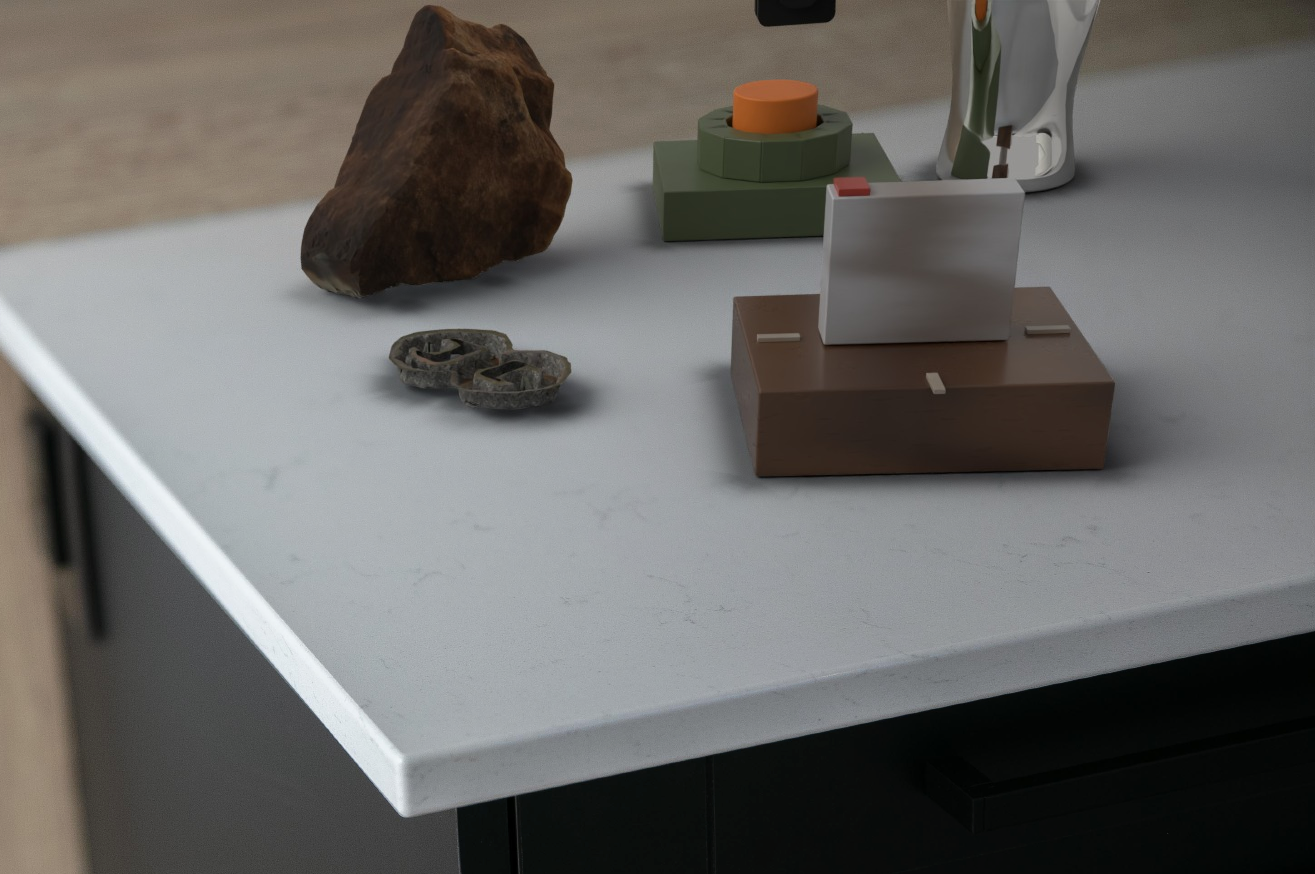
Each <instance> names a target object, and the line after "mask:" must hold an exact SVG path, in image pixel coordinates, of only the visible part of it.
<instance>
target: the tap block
mask: <svg viewBox="0 0 1315 874" xmlns="http://www.w3.org/2000/svg"><path fill="white" fill-rule="evenodd" d="M819 306H820V293H804V294H803V293H801V294H771V295H769V294H767V295H743V296H742V295H740V296H733V298H732V323H731V324H732V325H731V326H732V327H731V328H732V329H731V345H730V347H731V349H730V377H731V382H732V385H733V389H734V393H735V397H736V402H737V406H738V411H739V414H740V420H741V423H742V427H743V431H744V435H745V439H746V445H747V447H748V452H749V457H750V460H751V465H752V468H753V473H754V476H755V477H760V478H761V477H799V476H801V477H802V476H841V475H842V476H843V475H847V476H848V475H888V474H889V475H891V474H933V473H935V474H937V473H974V472H975V473H976V472H978V473H979V472H1015V471H1017V472H1019V471H1022V472H1023V471H1054V470H1055V471H1061V470H1062V471H1063V470H1064V471H1065V470H1066V471H1067V470H1068V471H1069V470H1102V469H1104V468H1105V461H1106V455H1107V448H1108V440H1109V433H1110V427H1111V426H1110V425H1111V420H1112V411H1113V404H1114V399H1115V398H1114V397H1115V390H1116V382H1115V379H1114V378H1113V377H1112V375H1111V373H1110V372H1109V371H1108V369H1107V368H1106V367H1105V365H1104V364H1103V362H1102V361H1101V359H1100V358H1099V356H1098V355H1097V353H1096V352H1095V349H1093V347H1092V346H1091V345H1090V343H1089V341H1087V339H1086V337H1085V336H1084V334H1083V333H1082V332H1081V330H1080V328H1079V327H1078V325H1077V324H1076V322H1075V321H1074V320H1073V318H1072V316H1071V315H1070V314H1069V313H1068V311H1067V310H1066V308H1065V306H1064V305H1063V304H1062V302H1061V301H1060V299H1059V298H1058V296H1057V295H1056V293H1055V291H1054V290H1053V289H1052V287H1051V286H1023V287H1022V286H1021V287H1017V286H1016V287H1015V289H1014V298H1013V307H1012V316H1011V325H1010V334H1009V339H1008V340H993V341H954V342H915V343H876V344H838V345H824V343H823V340H822V337H821V334H820V331H819V328H818V322H819Z"/></svg>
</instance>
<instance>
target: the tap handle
mask: <svg viewBox="0 0 1315 874" xmlns="http://www.w3.org/2000/svg"><path fill="white" fill-rule="evenodd" d="M1025 197H1026V192H1024V190H1023V189H1022V187H1021V186H1020V185H1019V183H1018V182H1017V180H1016V179H1015V178H997V179H968V180H942V179H940V180H916V181H915V180H914V181H901V182H882V183H868V182H867V180H866V178H865V177H847V178H834V184H828V185H827V189H826V206H825V222H824V236H823V241H822V242H823V243H822V258H821V272H820V273H821V275H820V291H819V294H820V306H819V322H818V328H819V331H820V334H821V337H822V340H823V343H824V345H838V344H876V343H915V342H954V341H993V340H1008V339H1009V334H1010V325H1011V316H1012V307H1013V298H1014V289H1015V288H1016V287H1015V286H1016V279H1017V272H1018V271H1017V269H1018V261H1019V253H1020V252H1019V251H1020V243H1021V235H1022V234H1021V233H1022V225H1023V215H1024V206H1025V199H1026V198H1025Z"/></svg>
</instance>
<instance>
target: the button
mask: <svg viewBox="0 0 1315 874" xmlns="http://www.w3.org/2000/svg"><path fill="white" fill-rule="evenodd" d="M818 102H819V89H818V87H817V86H816V85H814V84H812V83H810V82H806V81H801V80H794V79H761V80H755V81H750V82H746V83H743V84H740V85H738V86H736V87H735V88H734V89H733V101H732V106H733V126H732V128H734V129H737V130H740V131H743V132H751V133H761V134H779V133H795V132H800V131H805V130H810V129H814V128H816V123H817V106H818V105H819V103H818Z"/></svg>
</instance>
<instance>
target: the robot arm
mask: <svg viewBox="0 0 1315 874" xmlns="http://www.w3.org/2000/svg"><path fill="white" fill-rule="evenodd" d="M836 11H837V0H754V14H755V17H756V18H757V20H758V22H759V24H760V25H761V26H762V27H764V28H770V27H771V28H773V27H782V26H783V27H785V26H786V27H787V26H800V25H813V24H815V25H816V24H826V23H830V22H832V20H834V18H835V16H836Z"/></svg>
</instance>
